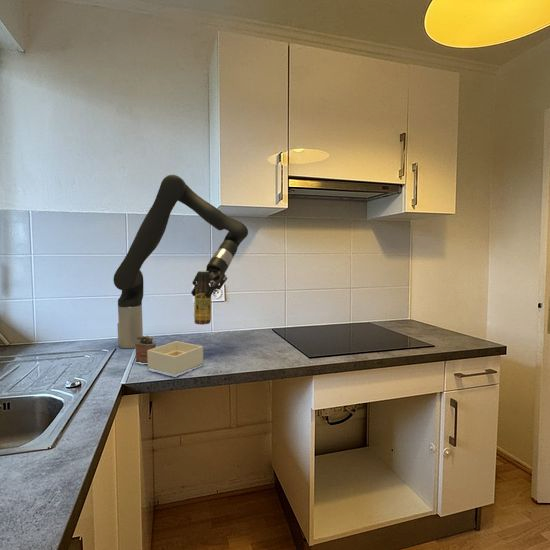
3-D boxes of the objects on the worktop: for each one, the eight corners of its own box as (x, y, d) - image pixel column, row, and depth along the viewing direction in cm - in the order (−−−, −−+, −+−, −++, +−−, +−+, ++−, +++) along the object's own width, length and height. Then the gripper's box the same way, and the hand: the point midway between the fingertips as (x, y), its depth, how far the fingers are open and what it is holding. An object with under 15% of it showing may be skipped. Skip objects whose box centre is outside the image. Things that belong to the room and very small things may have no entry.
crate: (147, 370, 113) (147, 350, 112) (176, 359, 124) (176, 341, 124) (175, 378, 107) (174, 357, 106) (203, 365, 118) (202, 346, 117)
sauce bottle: (194, 325, 123) (193, 272, 121) (194, 322, 129) (192, 270, 127) (212, 324, 124) (211, 271, 123) (211, 320, 130) (210, 270, 129)
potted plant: (158, 362, 121) (157, 335, 120) (152, 365, 117) (152, 338, 117) (139, 360, 123) (138, 334, 122) (133, 363, 120) (132, 336, 119)
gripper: (201, 255, 134) (180, 288, 125) (230, 256, 127) (209, 291, 118) (210, 268, 139) (190, 300, 130) (238, 269, 132) (219, 303, 123)
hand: (199, 295), depth 124 cm, fingers closed on sauce bottle, 6 cm apart
